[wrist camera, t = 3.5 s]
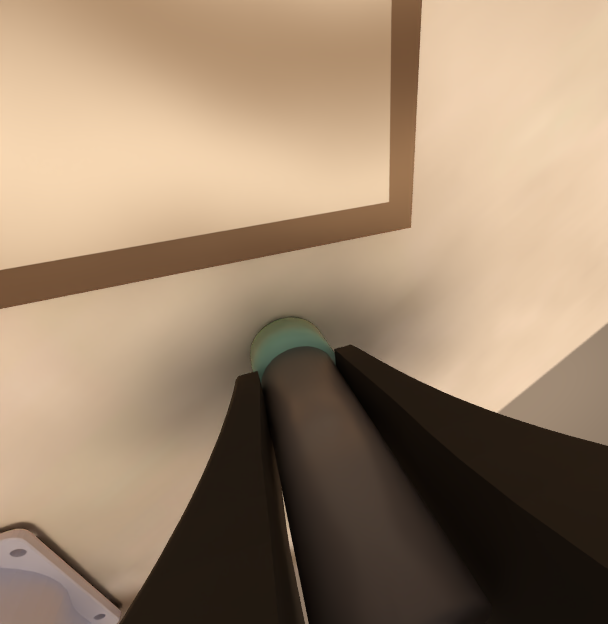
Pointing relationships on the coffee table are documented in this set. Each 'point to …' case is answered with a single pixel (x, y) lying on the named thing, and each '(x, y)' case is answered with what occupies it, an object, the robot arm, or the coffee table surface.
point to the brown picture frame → (197, 134)
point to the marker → (352, 498)
